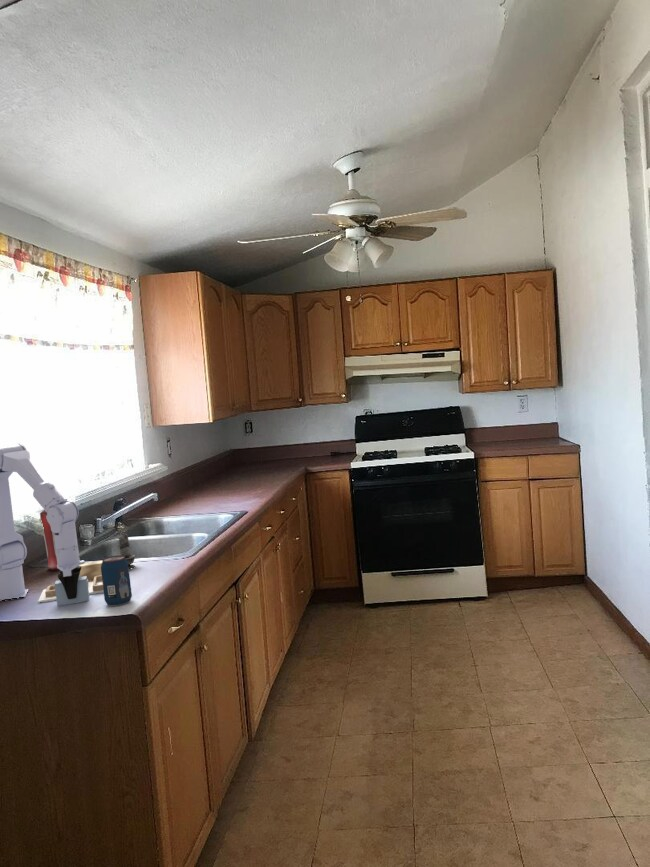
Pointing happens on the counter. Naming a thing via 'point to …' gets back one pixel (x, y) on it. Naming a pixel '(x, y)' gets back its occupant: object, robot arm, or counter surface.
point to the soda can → (116, 580)
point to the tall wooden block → (91, 570)
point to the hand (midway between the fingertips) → (72, 596)
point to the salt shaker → (126, 549)
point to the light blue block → (81, 592)
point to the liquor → (49, 542)
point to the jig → (93, 588)
